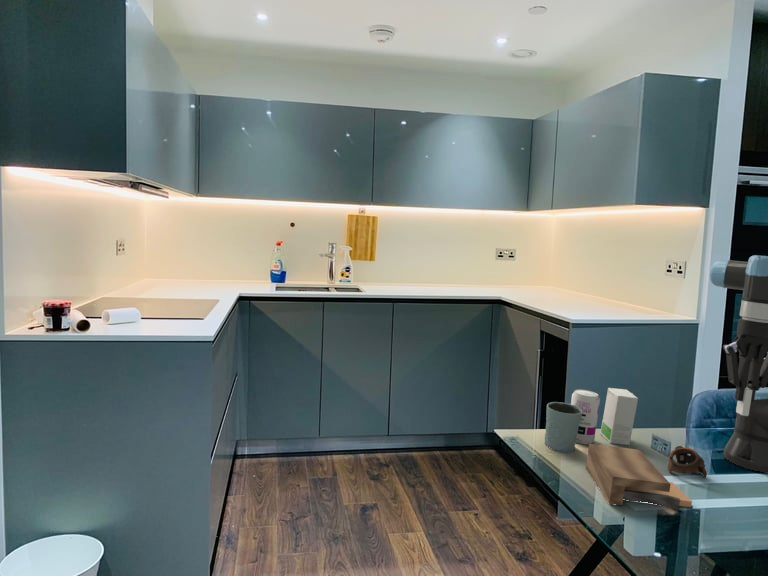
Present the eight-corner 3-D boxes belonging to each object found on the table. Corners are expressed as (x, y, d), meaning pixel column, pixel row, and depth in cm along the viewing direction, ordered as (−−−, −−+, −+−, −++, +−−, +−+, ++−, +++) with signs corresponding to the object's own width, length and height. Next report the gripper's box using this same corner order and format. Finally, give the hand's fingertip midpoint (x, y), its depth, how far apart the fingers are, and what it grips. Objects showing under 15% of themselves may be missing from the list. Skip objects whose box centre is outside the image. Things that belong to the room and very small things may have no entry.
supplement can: (588, 436, 173) (595, 390, 172) (597, 446, 165) (604, 398, 163) (563, 433, 174) (569, 387, 172) (570, 443, 165) (577, 395, 164)
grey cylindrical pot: (567, 440, 168) (572, 402, 167) (583, 454, 158) (589, 414, 157) (536, 439, 166) (541, 401, 165) (551, 453, 156) (556, 412, 155)
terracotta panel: (671, 489, 141) (672, 482, 141) (690, 509, 131) (691, 501, 131) (608, 482, 142) (609, 475, 141) (622, 501, 132) (624, 493, 132)
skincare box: (599, 433, 176) (606, 387, 175) (620, 435, 176) (626, 389, 175) (610, 444, 168) (617, 395, 166) (631, 445, 168) (638, 397, 166)
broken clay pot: (715, 485, 146) (710, 461, 143) (680, 495, 148) (673, 472, 145) (693, 456, 157) (688, 434, 155) (660, 465, 159) (654, 443, 156)
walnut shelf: (650, 476, 146) (654, 451, 146) (683, 514, 127) (688, 486, 126) (585, 468, 148) (589, 443, 147) (608, 504, 128) (612, 476, 127)
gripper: (775, 319, 135) (760, 411, 137) (721, 314, 136) (706, 406, 138) (795, 325, 127) (779, 422, 130) (737, 319, 128) (722, 416, 131)
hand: (742, 413), depth 134 cm, fingers closed
